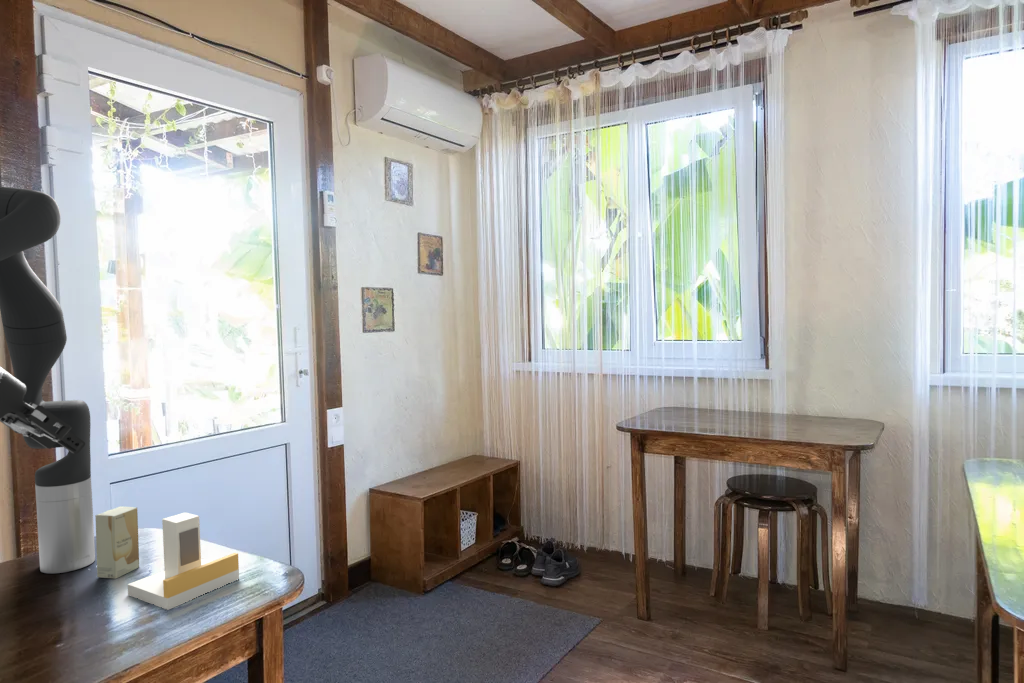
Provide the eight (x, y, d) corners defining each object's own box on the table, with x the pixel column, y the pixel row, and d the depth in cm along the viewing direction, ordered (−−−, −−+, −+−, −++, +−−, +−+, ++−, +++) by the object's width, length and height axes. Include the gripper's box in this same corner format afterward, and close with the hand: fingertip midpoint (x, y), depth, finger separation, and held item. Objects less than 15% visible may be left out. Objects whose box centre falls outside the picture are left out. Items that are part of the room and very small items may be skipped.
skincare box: (115, 579, 124) (112, 516, 123) (96, 578, 125) (93, 515, 124) (141, 566, 130) (138, 506, 130) (122, 565, 131) (119, 505, 130)
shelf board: (128, 595, 117) (126, 567, 117) (199, 567, 129) (198, 542, 129) (167, 610, 111) (166, 581, 111) (239, 579, 123) (238, 553, 123)
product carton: (164, 578, 120) (162, 518, 119) (187, 569, 123) (185, 512, 123) (179, 583, 117) (176, 523, 116) (202, 574, 121) (199, 516, 120)
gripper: (21, 367, 96) (106, 431, 107) (-22, 364, 103) (61, 424, 114) (-20, 408, 92) (72, 470, 102) (-62, 402, 99) (28, 461, 110)
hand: (66, 446), depth 108 cm, fingers open, 8 cm apart
